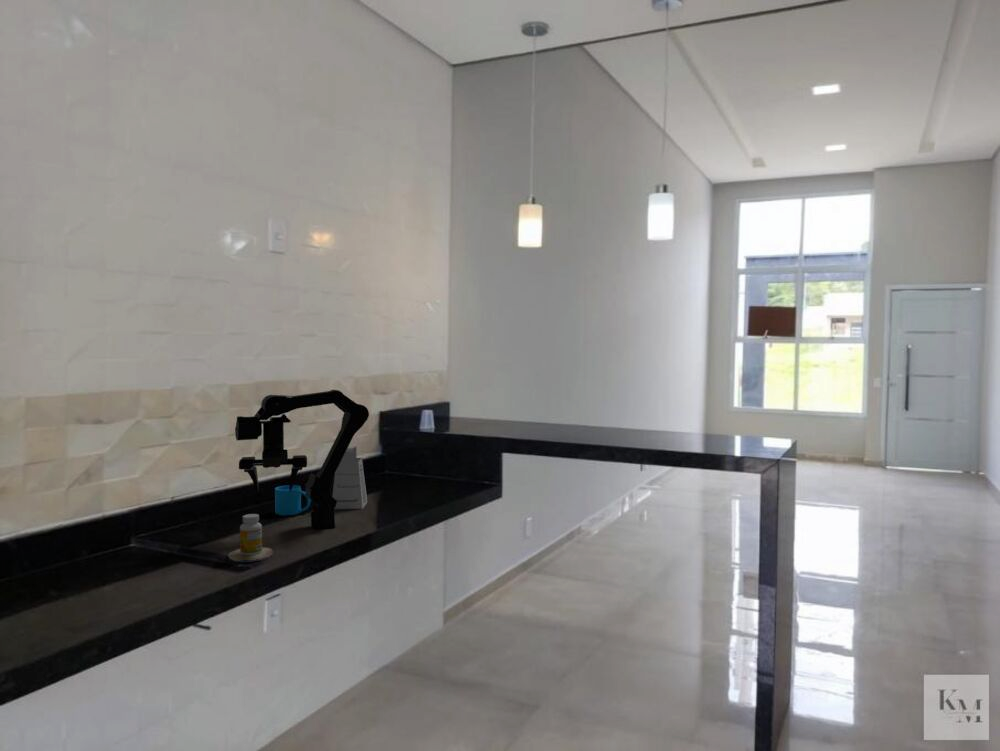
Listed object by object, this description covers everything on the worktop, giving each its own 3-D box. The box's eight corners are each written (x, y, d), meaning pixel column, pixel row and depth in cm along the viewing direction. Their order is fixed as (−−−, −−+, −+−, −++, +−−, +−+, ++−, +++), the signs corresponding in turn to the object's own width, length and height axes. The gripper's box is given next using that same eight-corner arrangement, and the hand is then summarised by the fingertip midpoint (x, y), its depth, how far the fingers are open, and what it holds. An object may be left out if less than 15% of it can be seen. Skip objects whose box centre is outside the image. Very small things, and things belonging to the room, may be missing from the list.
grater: (367, 501, 254) (367, 444, 253) (362, 508, 243) (362, 449, 242) (337, 502, 253) (336, 444, 252) (331, 509, 243) (330, 449, 242)
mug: (270, 514, 235) (270, 489, 234) (283, 509, 243) (282, 484, 242) (304, 516, 232) (304, 491, 232) (316, 510, 240) (316, 486, 240)
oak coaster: (274, 549, 196) (274, 545, 195) (270, 561, 185) (270, 557, 185) (231, 551, 193) (231, 548, 193) (225, 564, 182) (225, 560, 182)
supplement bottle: (239, 551, 190) (238, 514, 190) (260, 548, 193) (260, 512, 192) (241, 556, 185) (240, 519, 185) (263, 554, 188) (262, 516, 187)
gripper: (235, 443, 202) (236, 498, 203) (305, 441, 206) (305, 495, 207) (241, 437, 213) (241, 490, 214) (307, 436, 217) (307, 488, 218)
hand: (274, 491), depth 213 cm, fingers open, 9 cm apart
